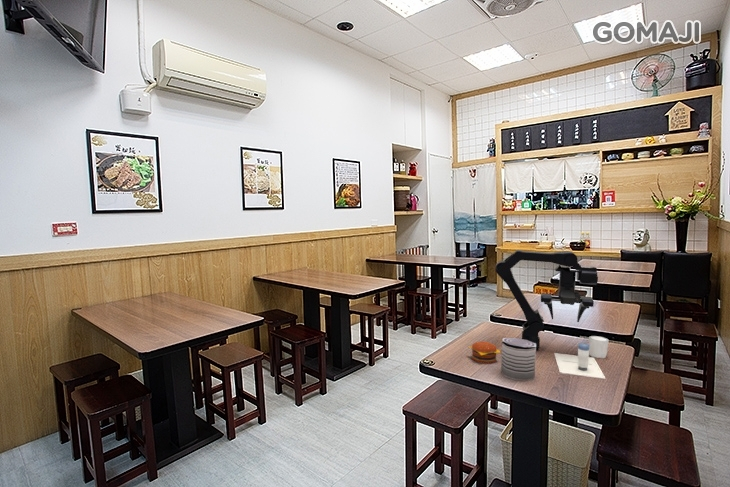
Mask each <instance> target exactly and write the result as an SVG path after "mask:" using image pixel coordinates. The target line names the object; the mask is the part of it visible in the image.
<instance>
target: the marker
mask: <svg viewBox="0 0 730 487" xmlns="http://www.w3.org/2000/svg"><path fill="white" fill-rule="evenodd" d="M577 346H578V347H577V356H578V364H577V365H578V369H579V370H583V371H587V368H588V362H589V357H590V354H589V343H588V344H587V343H582V342H580V343H578V345H577Z"/></svg>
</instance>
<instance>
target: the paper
mask: <svg viewBox="0 0 730 487" xmlns="http://www.w3.org/2000/svg"><path fill="white" fill-rule="evenodd" d="M553 354H554V358H555V361H556V364H557V368H558V371H559V374H564V375H565V374H566V375H571V376H579V377H585V378H586V377H587V378H594V379H602V380H607V378H606V376H605V374H604V373H603V371H602V370H601V368H600V365H599V364H598V363H597V361H596V359H595V357H592V356H591V357H590V356H589V362H588V368H587V371H583V370H579V369H578V365H577V364H578V355H576V354H575V355H573V354H566V353H557V352H554V353H553Z"/></svg>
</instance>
